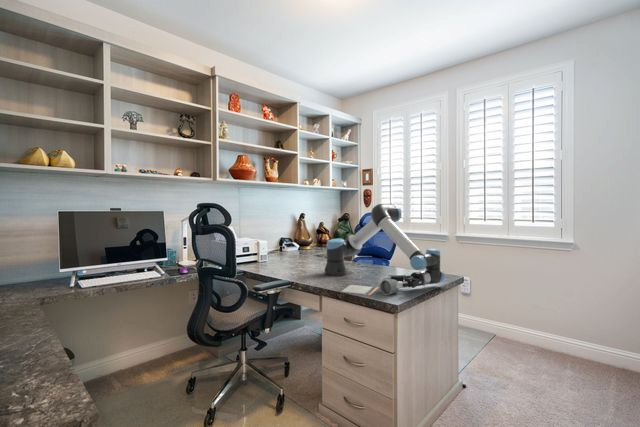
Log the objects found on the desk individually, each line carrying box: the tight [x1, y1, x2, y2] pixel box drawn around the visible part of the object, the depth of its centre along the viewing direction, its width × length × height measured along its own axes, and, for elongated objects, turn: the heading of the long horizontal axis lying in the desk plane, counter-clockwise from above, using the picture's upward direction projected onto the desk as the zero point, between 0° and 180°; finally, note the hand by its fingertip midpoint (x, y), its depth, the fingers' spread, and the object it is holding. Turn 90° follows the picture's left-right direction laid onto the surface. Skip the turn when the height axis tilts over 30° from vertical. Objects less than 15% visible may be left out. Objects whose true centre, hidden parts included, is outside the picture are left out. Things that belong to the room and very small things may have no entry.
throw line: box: [367, 286, 380, 297], centre depth 176 cm, size 17×2×1 cm, turn 155°
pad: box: [341, 284, 374, 296], centre depth 180 cm, size 15×13×1 cm
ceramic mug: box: [378, 279, 400, 296], centre depth 174 cm, size 11×8×8 cm
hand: (388, 282), depth 171 cm, fingers open, 13 cm apart
